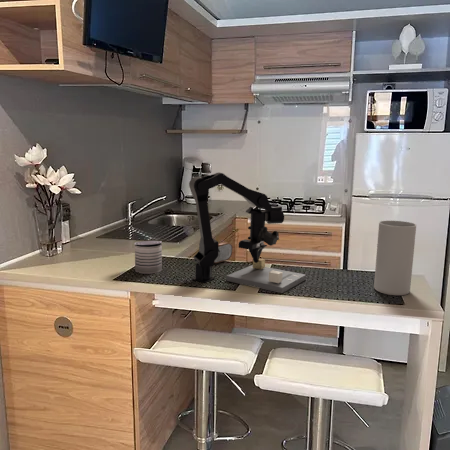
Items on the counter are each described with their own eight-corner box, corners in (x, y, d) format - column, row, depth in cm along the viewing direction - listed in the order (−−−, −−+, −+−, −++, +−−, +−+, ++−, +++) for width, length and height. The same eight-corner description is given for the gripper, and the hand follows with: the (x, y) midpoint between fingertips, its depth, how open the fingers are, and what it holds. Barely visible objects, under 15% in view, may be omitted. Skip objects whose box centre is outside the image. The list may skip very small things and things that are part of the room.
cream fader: (278, 283, 168) (278, 274, 167) (268, 281, 170) (269, 272, 170) (282, 281, 170) (282, 272, 170) (272, 279, 173) (272, 270, 172)
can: (134, 274, 184) (134, 245, 182) (133, 266, 195) (133, 238, 193) (163, 273, 187) (163, 244, 184) (161, 265, 197) (160, 238, 195)
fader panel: (282, 293, 165) (282, 287, 164) (226, 280, 178) (226, 275, 177) (305, 279, 181) (305, 274, 181) (252, 269, 194) (253, 264, 194)
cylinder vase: (413, 297, 163) (419, 227, 158) (376, 294, 165) (381, 225, 160) (406, 286, 175) (412, 221, 170) (371, 284, 177) (376, 219, 172)
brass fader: (261, 269, 185) (261, 260, 185) (252, 267, 188) (252, 259, 187) (264, 267, 188) (265, 259, 187) (256, 266, 190) (256, 257, 189)
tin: (228, 257, 212) (228, 239, 211) (233, 259, 210) (233, 240, 209) (206, 264, 201) (206, 245, 199) (211, 265, 199) (212, 246, 197)
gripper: (263, 230, 171) (262, 271, 173) (286, 223, 186) (284, 261, 189) (238, 226, 177) (237, 266, 179) (262, 220, 192) (260, 257, 195)
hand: (256, 262), depth 185 cm, fingers closed
